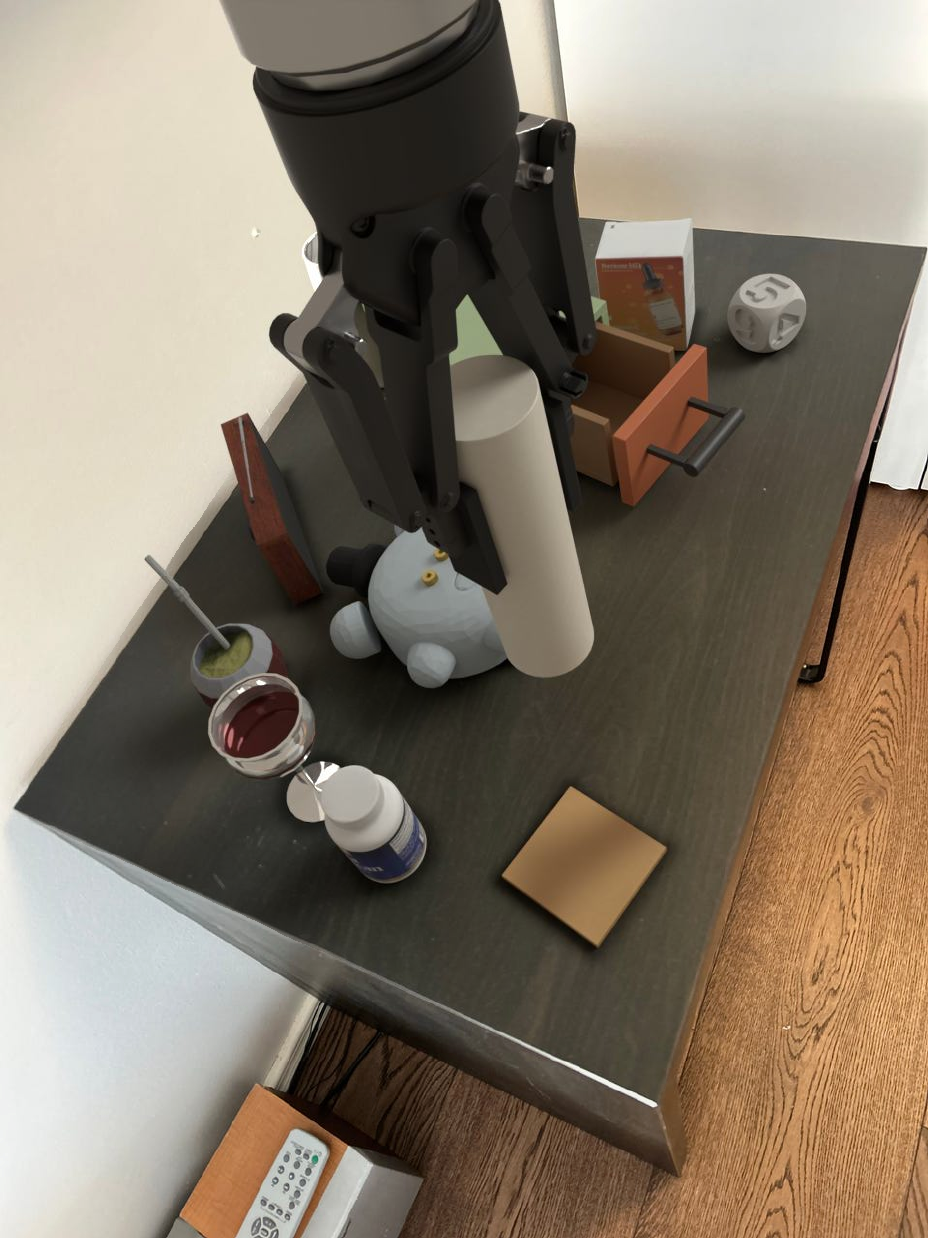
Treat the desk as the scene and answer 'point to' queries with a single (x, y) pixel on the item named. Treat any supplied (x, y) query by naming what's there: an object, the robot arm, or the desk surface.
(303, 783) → the wineglass
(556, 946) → the desk surface
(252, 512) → the radio
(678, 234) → the small box
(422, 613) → the figurine
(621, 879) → the coaster
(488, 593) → the canister
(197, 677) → the mate gourd
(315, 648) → the desk surface
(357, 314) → the metal tumbler
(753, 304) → the die
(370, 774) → the pill bottle
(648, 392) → the drawer
